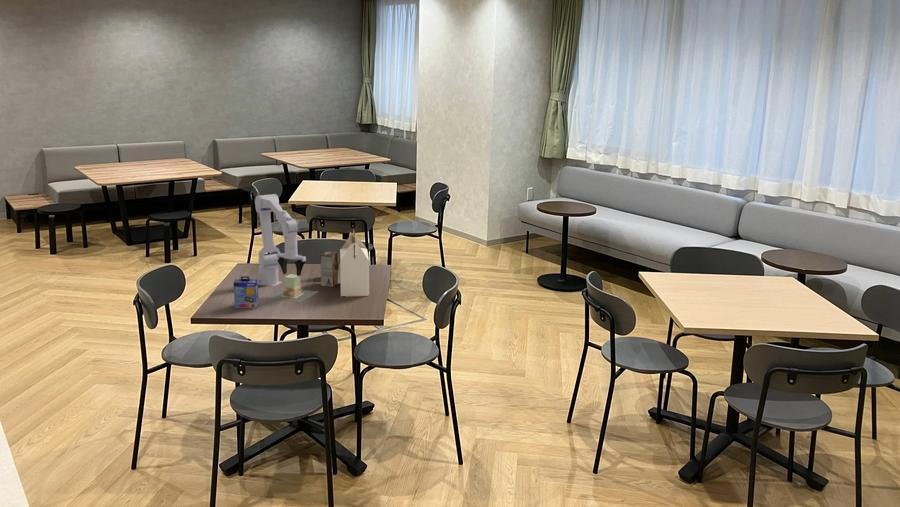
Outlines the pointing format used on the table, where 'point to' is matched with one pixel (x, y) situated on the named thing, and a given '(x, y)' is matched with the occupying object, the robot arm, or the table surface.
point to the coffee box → (329, 268)
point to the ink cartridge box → (246, 293)
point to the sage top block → (292, 281)
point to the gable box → (354, 267)
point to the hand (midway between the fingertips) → (291, 274)
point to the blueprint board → (300, 298)
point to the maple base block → (291, 291)
